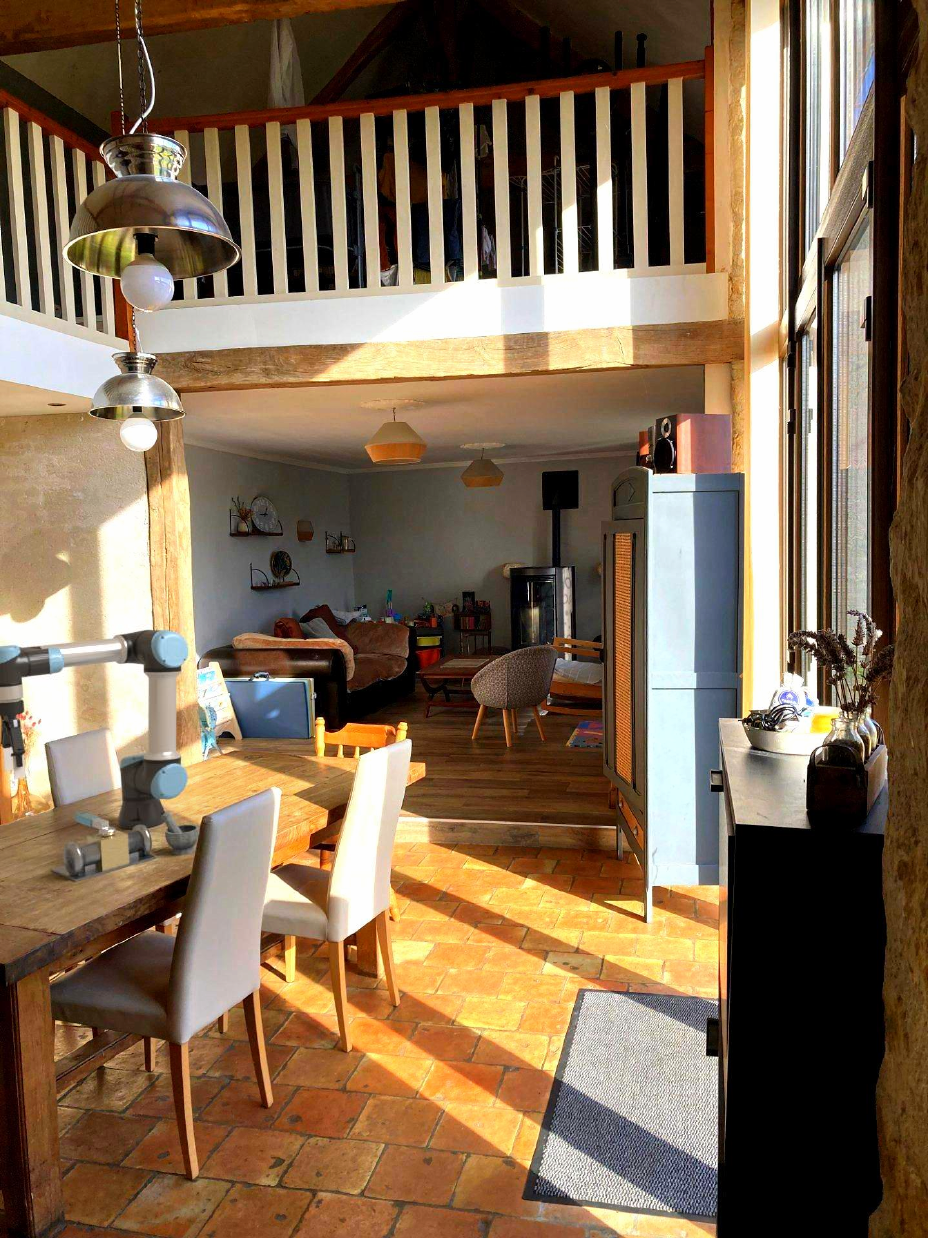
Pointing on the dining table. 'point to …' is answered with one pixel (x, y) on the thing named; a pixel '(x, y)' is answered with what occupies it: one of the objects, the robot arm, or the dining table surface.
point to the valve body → (105, 853)
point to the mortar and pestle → (180, 835)
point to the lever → (95, 823)
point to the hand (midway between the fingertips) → (14, 774)
